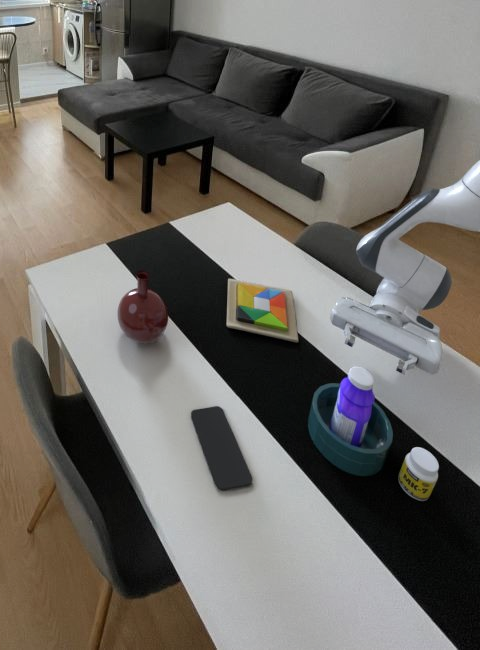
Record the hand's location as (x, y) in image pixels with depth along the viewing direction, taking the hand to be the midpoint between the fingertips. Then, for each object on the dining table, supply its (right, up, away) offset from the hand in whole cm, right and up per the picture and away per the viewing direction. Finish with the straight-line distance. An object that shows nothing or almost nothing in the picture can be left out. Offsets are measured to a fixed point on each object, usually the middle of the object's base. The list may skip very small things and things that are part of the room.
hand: (373, 356), depth 90 cm
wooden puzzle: (-12, -4, +29) cm, 31 cm away
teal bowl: (-7, -16, -2) cm, 18 cm away
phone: (-33, -17, -2) cm, 38 cm away
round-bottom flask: (-45, -8, +24) cm, 52 cm away
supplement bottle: (0, -19, -10) cm, 21 cm away
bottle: (-8, -15, -2) cm, 17 cm away
